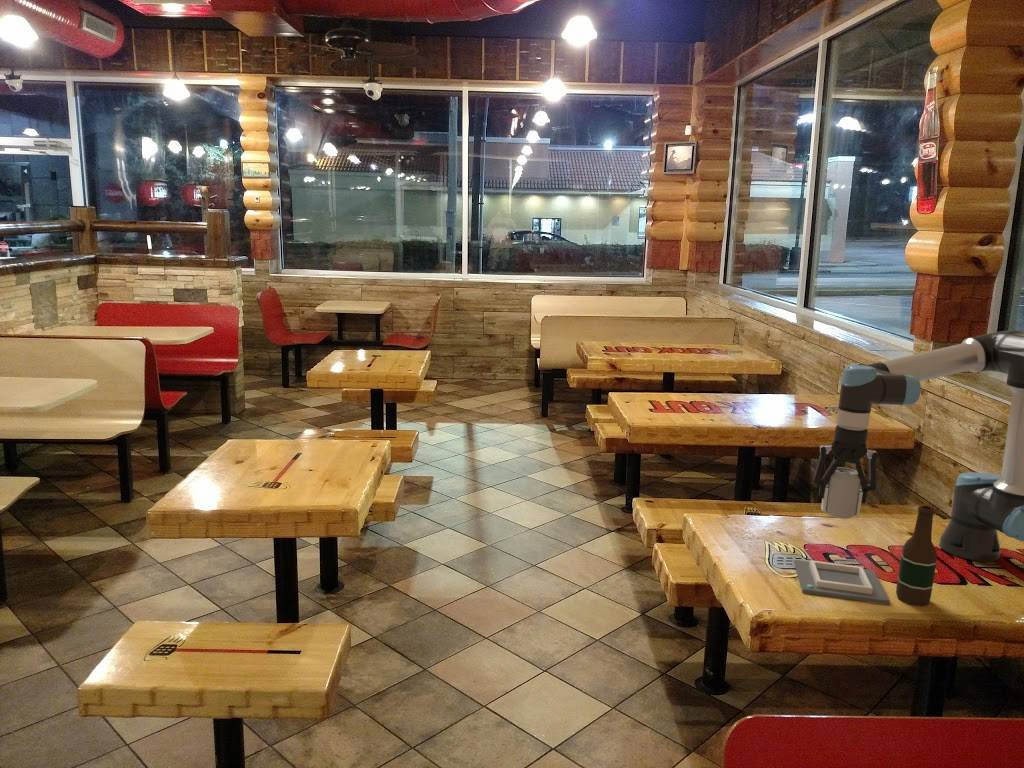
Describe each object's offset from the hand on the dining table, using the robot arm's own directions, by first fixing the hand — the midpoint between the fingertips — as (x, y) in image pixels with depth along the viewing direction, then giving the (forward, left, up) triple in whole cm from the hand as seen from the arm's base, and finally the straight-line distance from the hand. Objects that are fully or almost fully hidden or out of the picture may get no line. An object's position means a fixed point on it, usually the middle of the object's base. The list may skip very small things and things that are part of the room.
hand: (839, 512), depth 200 cm
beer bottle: (-18, +8, -18) cm, 26 cm away
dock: (-1, +4, -17) cm, 18 cm away
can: (0, 0, -1) cm, 1 cm away
